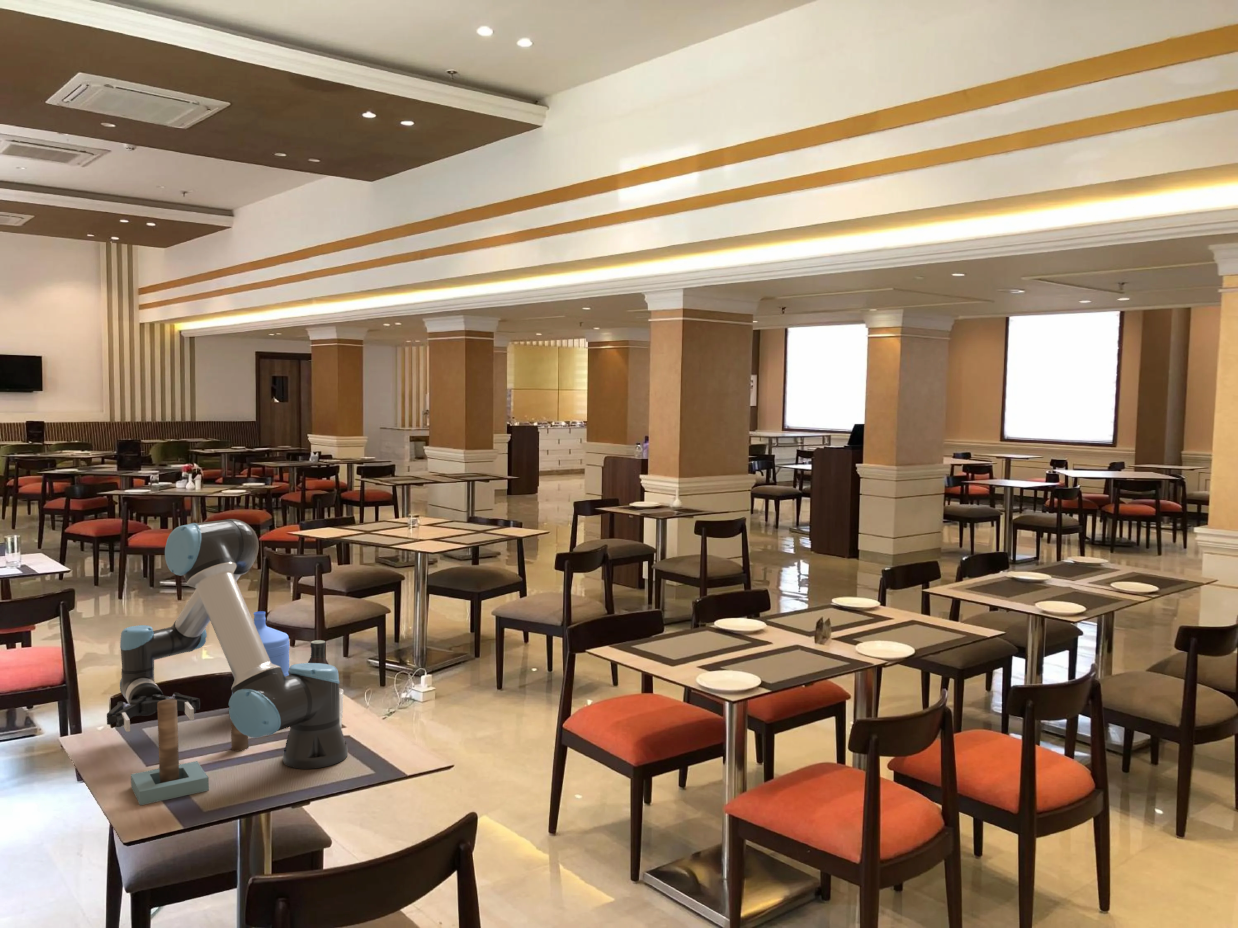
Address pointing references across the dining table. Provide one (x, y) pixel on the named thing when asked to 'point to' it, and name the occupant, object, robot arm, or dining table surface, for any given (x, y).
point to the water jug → (273, 643)
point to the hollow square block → (169, 784)
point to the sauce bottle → (318, 652)
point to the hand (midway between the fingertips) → (160, 720)
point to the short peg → (238, 739)
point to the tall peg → (168, 740)
